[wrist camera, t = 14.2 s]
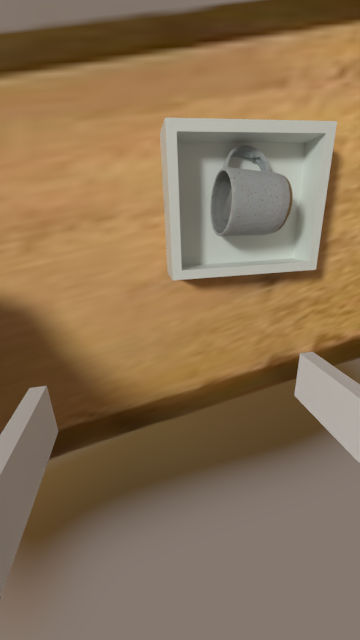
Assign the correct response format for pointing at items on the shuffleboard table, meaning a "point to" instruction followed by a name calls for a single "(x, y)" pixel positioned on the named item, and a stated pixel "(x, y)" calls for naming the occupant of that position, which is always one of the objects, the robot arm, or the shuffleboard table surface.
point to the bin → (283, 157)
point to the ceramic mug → (249, 197)
